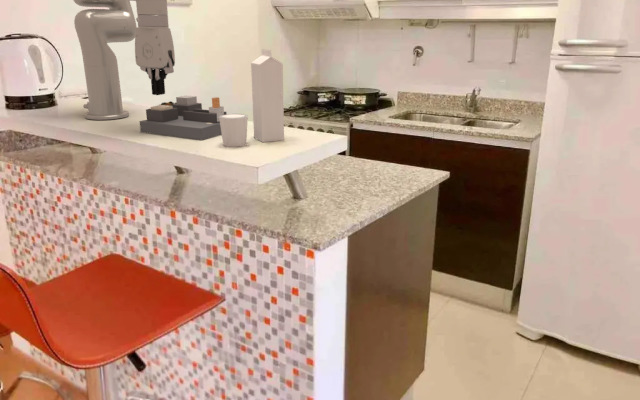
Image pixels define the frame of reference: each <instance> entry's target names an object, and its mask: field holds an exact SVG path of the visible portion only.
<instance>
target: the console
mask: <svg viewBox="0 0 640 400" xmlns="http://www.w3.org/2000/svg"><path fill="white" fill-rule="evenodd" d="M202 105H203V104H202V102H197V104H193V105H188V106H187V105H177V104H172V108H173V109H168V110H163V111H160V110H151V108H147V109H145V115H146V119H144V120H140V121H139V130H140V133H143V134H144V133H145V134H149V135H150V134H151V135H157V136H158V135H160V136H166V137H167V136H168V137H176V138H179V139H181V138H182V139H189V140H197V141H204V140H208V139H211V138H215V137H219V136H222V133H221V126H220V121H219V122H217V114H211V113H209V109H203V106H202ZM226 114H228V113H227V111H224V115H226Z"/></svg>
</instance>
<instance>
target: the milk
mask: <svg viewBox="0 0 640 400" xmlns="http://www.w3.org/2000/svg"><path fill="white" fill-rule="evenodd" d="M250 66H251V67H250V68H251V71H250V72H251V93H252V115H253V117H252V119H253V120H252V121H253V122H252V124H253V138H254V139H255V140H258V141H260V142H261V143H268V142H277V141H284V140H285V123H284V122H285V120H284V119H285V118H284V116H285V115H284V71H283V67H284V65H283V63H282V62H281V61H279V60H277V59H276V58H274V57H272V51H271V49H265V48H262V49H261V55H260V56H259V57H257V58H256V59H254V60H253V61H251V63H250Z"/></svg>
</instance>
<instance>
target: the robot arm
mask: <svg viewBox="0 0 640 400" xmlns="http://www.w3.org/2000/svg"><path fill="white" fill-rule="evenodd" d="M131 1H134V2H135V5H136V6H135V7H136V14H137V15H136V19H135V14H134V12H133V7H132V3H131ZM73 2H74V4H76V5H77V6H80V7H86V8H87V9H82V10H80V11H78V12H77V13H76V15H75V17H74V20H73V21H74V23H73V25H74V29H75V32H76V35H77V38H78V42H79V46H80V50H81V55H82V61H83V68H84V76H85V83H86V90H87V91H86V92H87V95H88V97H87V99H88V101H86V103H84V104H83V106H82V107H83V108H84V109H87V111H88V112H87V113H85V115H84V117H85V118H86V119H87V120H95V121H102V120H103V121H104V120H105V121H107V120H117V119H122V118H123V119H124V118H127V117H129V116H130V114H129V111H128V110H124V108H123V99H122V92H121V91H122V90H121V82H120V75H119V74H120V73H119V66H118V65H119V64H118V59H117V56H116V54H115V52H114V51H113V50H112V49H111V47H110V46H109V43H110V44H111V43H129V42H131V41H133V40H134V54H135V55H134V56H135V57H134V58H135V65H137V66H138V67H139V69H140V70H141V71H143V72H145V73H146V74H147V75H148V76H147V77H148V79H149V80H150V83H151V86H150V87H151V94H152V96H153V95H154V96H161V95H166V86H165V85H166V84H165V79H167V76H168V75H169V74H173V73H174V72H175V71H174V67H175V64H176V57H175V54H176V53H175V46H174V45H175V44H174V41H173V36H172V35H173V34H172V31H171V28H170V27H169V25H170V24H169V15H168V14H169V13H168V0H73ZM105 8H107V9H105Z"/></svg>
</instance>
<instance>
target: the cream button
mask: <svg viewBox="0 0 640 400" xmlns="http://www.w3.org/2000/svg"><path fill="white" fill-rule="evenodd" d="M150 109H151V110H160V111H163V110H168V109H173V108H172V106H167V105H161V104H158V105H155V106H154V105H153V106H150Z"/></svg>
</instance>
